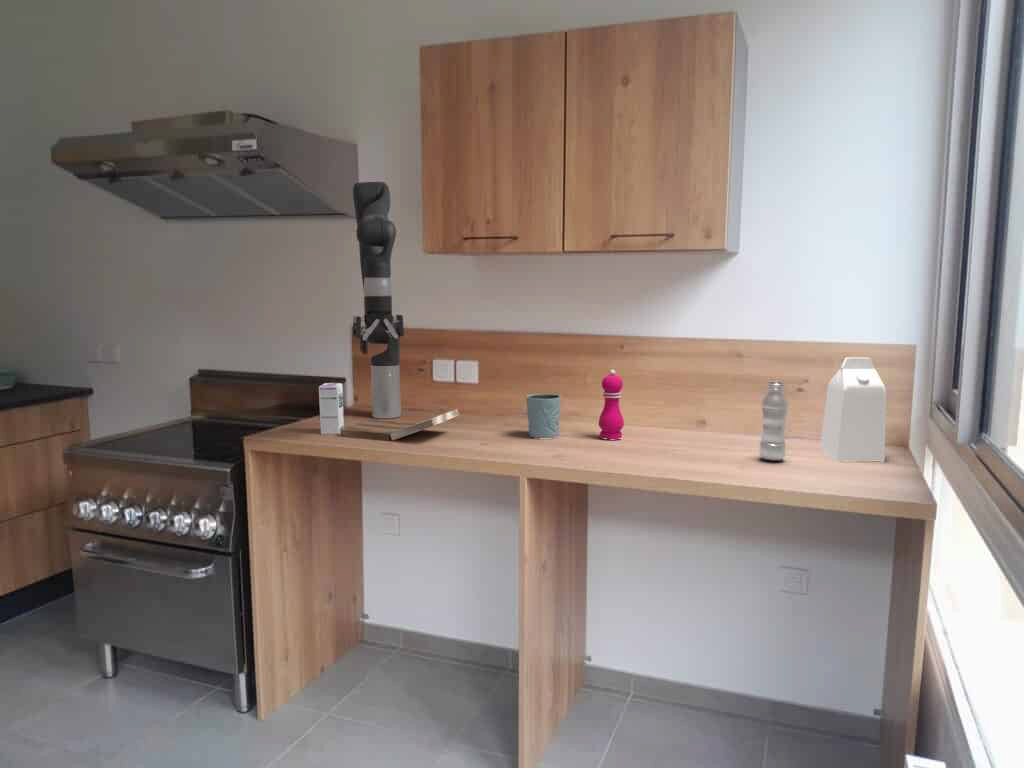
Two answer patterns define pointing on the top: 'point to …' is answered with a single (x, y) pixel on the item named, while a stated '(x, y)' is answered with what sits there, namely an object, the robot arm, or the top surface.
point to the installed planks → (375, 429)
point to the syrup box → (331, 408)
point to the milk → (855, 413)
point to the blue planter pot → (543, 415)
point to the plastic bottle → (774, 423)
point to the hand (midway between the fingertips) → (379, 353)
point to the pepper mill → (611, 407)
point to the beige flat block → (424, 424)
